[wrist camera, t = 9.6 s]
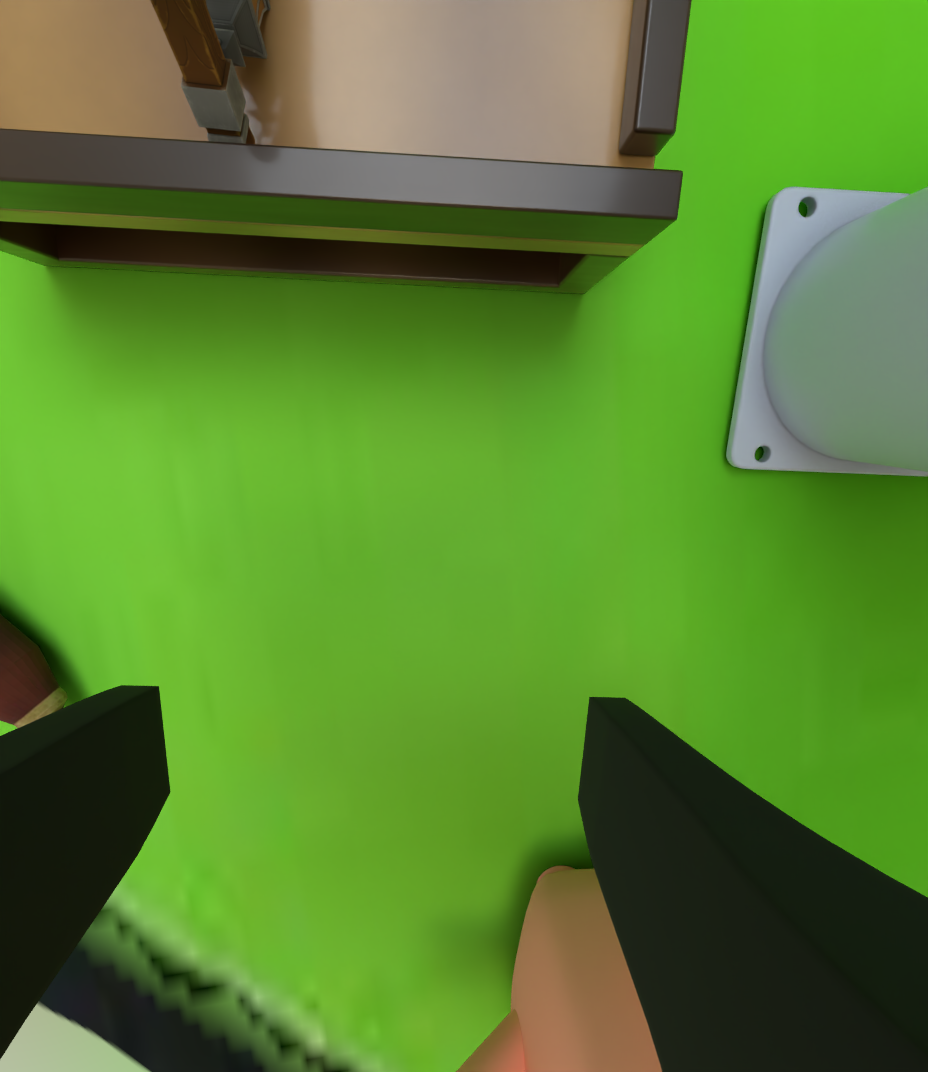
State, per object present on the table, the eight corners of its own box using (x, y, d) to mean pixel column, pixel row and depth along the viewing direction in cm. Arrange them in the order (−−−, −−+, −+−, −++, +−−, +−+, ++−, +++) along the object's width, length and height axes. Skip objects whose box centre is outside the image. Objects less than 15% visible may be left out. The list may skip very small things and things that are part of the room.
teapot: (408, 927, 22) (375, 1323, 12) (640, 762, 20) (804, 1077, 11) (579, 1074, 24) (659, 1503, 15) (799, 937, 22) (1050, 1323, 13)
